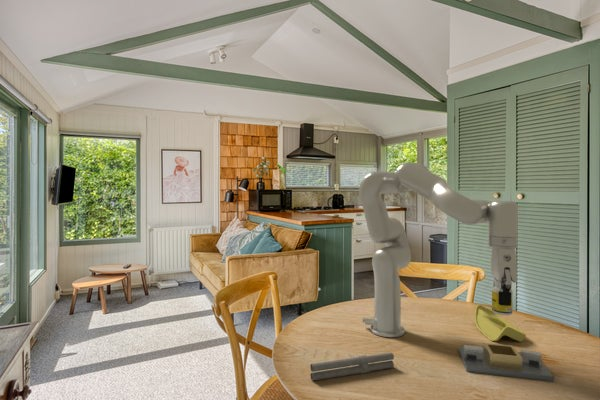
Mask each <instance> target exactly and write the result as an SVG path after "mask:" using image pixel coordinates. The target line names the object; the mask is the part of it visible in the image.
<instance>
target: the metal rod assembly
mask: <svg viewBox="0 0 600 400" xmlns="http://www.w3.org/2000/svg"><path fill="white" fill-rule="evenodd" d="M394 358H395V355H394V353H393V352H385V353H380V354H379V353H377V354H371V355H365V354H364V355H363V354H362V355H359V356H355V357H350V358H343V359H335V360H327V361H322V362H317V363H316V362H315V363H310V371H311V372H310V374H309V375H310V379H311V380H312V381H313V382H314V381H319V380H325V379H326V380H327V379H331V378H338V377H343V376H344V377H346V376H352V375H357V374H360V375H361V374H368V373H369V372H374V371H379V370H380V371H381V370H386V369H392V368H394V367H395V363H394V361H393V360H394Z"/></svg>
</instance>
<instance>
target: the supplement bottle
mask: <svg viewBox="0 0 600 400" xmlns="http://www.w3.org/2000/svg"><path fill="white" fill-rule="evenodd" d="M502 281H505V279H502ZM504 284H505V283H502V285H504ZM493 286H494V287H493ZM493 286H492V288H491V311H493V312H494V313H496V314H498V315H500V316H511V315H512V314H513V289H512V288H511V306H505V305H499V303H498V299H499V291H500V284H499V281H498V280H497V279H495V285H493Z"/></svg>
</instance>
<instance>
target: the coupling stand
mask: <svg viewBox="0 0 600 400" xmlns="http://www.w3.org/2000/svg"><path fill="white" fill-rule="evenodd" d="M458 352H459V353H458V354H459V356H460V358H461V361H462V363H463V366H464V368H465V371H466V372H467V373H474V374H475V373H476V374H477V373H478V374H486V375H494V376H495V375H496V376H503V377H510V378H518V379H527V380H536V381H544V382H554V380H555V379H554V377H555V376H554V374H552V372H551V371H550V370H549V368H547V367H546V366H545V364H544V363H543V361H542V360H543V359H542V356H543V355H542V352H541V351H540V352H538V351H536V350H535V351H533V350H529V349H523V348H520V351H518V350H517V349H516V347H515V346H514V345H510V344H499V343H489V342H483V345H482V346H478V345H467V344H463V346H459V345H458Z"/></svg>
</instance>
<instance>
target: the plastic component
mask: <svg viewBox="0 0 600 400" xmlns="http://www.w3.org/2000/svg"><path fill="white" fill-rule="evenodd" d="M474 323H475V325H476V327H477V329H478V331H479V332H480V333H482V334H483V335H484V336H485V337H486V338H488V339H489V341H492V342H498V341H499V340H501V338H502V337H505V336H507V337H509V338H511V339H513V340H515V341H517V342H520V343H522V342H523V341H524V339H525V337H526V335H527V334H526V333H525V332H523V330H520V329H519V328H518V327H516V326H515V325H514V324H513V323H511V322H510V321H508V320H507V319H506V318H504V317H503V316H502V315H499V314H496V313H494V312H493V311H492V309H489V308H487V307H486V306H483V305H481V304H477V305H476V307H475V310H474Z"/></svg>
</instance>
